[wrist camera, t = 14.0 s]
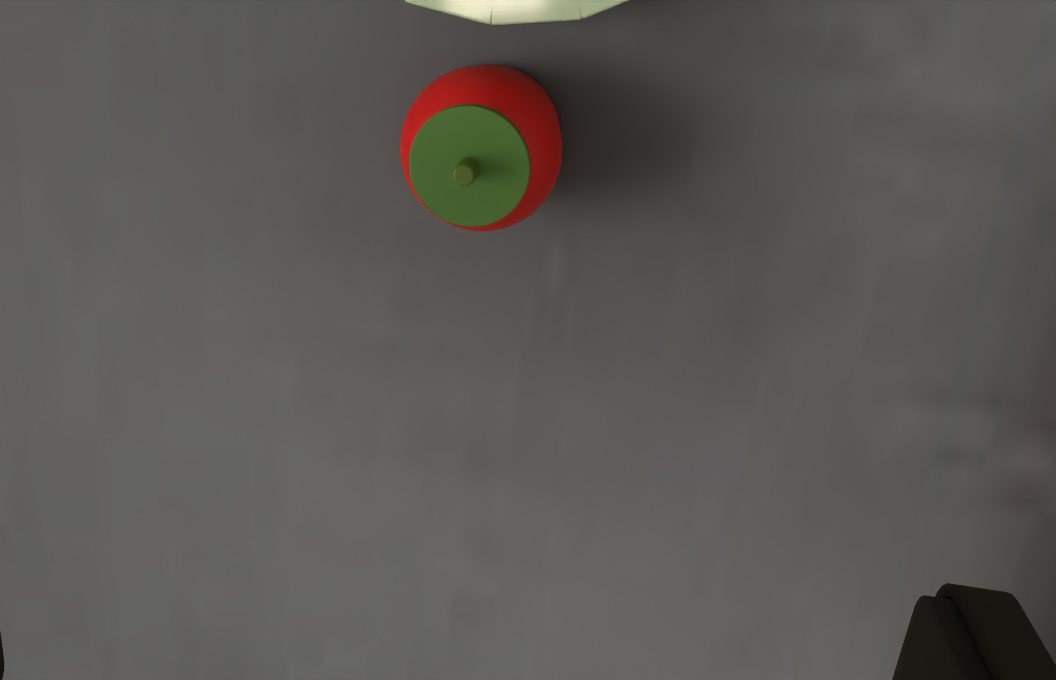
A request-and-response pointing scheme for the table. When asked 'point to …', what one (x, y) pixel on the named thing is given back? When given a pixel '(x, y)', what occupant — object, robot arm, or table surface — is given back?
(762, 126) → the table surface
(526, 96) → the strawberry
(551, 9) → the bowl
